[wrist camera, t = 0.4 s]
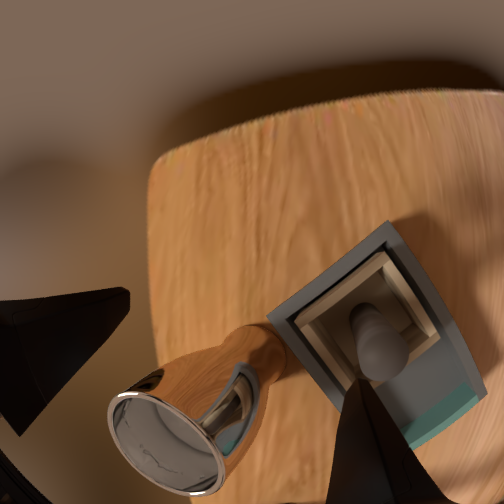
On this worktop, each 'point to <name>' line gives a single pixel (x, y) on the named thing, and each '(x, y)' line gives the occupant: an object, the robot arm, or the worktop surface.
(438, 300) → the bay
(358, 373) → the crate
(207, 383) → the beer glass
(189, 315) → the worktop surface
